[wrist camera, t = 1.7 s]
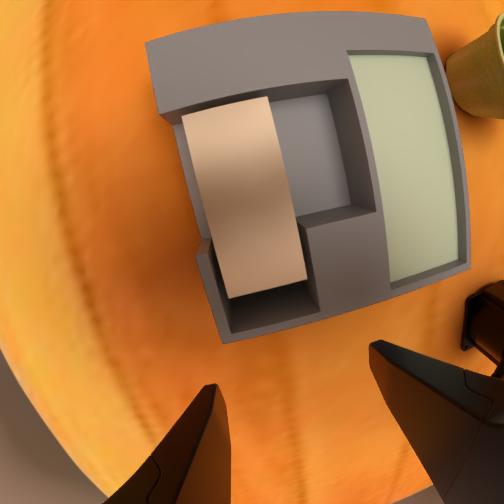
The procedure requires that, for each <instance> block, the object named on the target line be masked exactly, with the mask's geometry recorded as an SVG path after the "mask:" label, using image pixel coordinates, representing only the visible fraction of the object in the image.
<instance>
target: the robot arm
mask: <svg viewBox="0 0 504 504" xmlns="http://www.w3.org/2000/svg"><path fill="white" fill-rule="evenodd" d="M474 346H475V347H476V348H477V349H478V350H479V351H480V352H482V353H483V354H484V355H485V356H486V357H488V358H489V359H490V360H491V361H492V362H493V363H495V364H496V365H497V368H496V370H495V371H494V373H493V374H492V375H491V377H490V376H486V375H483V374H479V373H476V372H473V371H470V370H467V369H465V370H464V369H463V368H460V367H457V366H454V365H452V364H449V363H446V362H443V361H440V360H437V359H434V358H431V357H428V356H425V355H423V354H420V353H417V352H414V351H411V350H409V349H406V348H403V347H400V346H397V345H395V344H392V343H389V342H386V341H384V340H378V341H375V342H372V343H370V344H369V364H370V369H371V371H372V373H373V375H374V378H375V380H376V382H377V384H378V386H379V389H380V391H381V393H382V395H383V398H384V400H385V402H386V404H387V406H388V408H389V409H390V411H391V413H392V414H393V416H394V418H395V419H396V421H397V423H398V424H399V426H400V428H401V429H402V431H403V433H404V434H405V436H406V438H407V439H408V441H409V443H410V444H411V446H412V448H413V449H414V451H415V453H416V455H417V456H418V458H419V460H420V461H421V463H422V465H423V467H424V468H425V470H426V472H427V474H428V475H429V477H430V479H431V481H432V482H433V484H434V486H435V488H436V489H437V491H438V493H439V495H440V496H441V498H442V499H443V502H444V504H504V280H502V281H500V282H498V283H496V284H494V285H492V286H490V287H488V288H486V289H484V290H482V291H480V292H478V293H476V294H474V295H472V296H470V297H468V299H467V301H466V310H465V320H464V328H463V336H462V343H461V349H462V350H463V351H466V350H468V349H470V348H472V347H474ZM103 504H231V442H230V434H229V425H228V417H227V409H226V404H225V401H224V398H223V396H222V393H221V391H220V388H219V386H218V385H217V384H209V385H205V386H204V387H203V388H202V389H201V390H200V392H199V393H198V394H197V396H196V397H195V398H194V400H193V401H192V402H191V404H190V405H189V406H188V408H187V409H186V410H185V411H184V413H183V414H182V415H181V417H180V418H179V419H178V420H177V422H176V423H175V424H174V426H173V427H172V428H171V429H170V431H169V432H168V433H167V434H166V436H165V437H164V438H163V440H162V441H161V442H160V443H159V445H158V446H157V447H156V448H155V450H154V451H153V452H152V453H151V456H149V457H148V458H147V459H146V461H145V462H144V463H143V464H142V465H141V466H140V468H139V469H138V470H137V471H136V472H135V473H134V474H133V475H132V476H131V477H130V478H129V479H128V480H127V481H126V482H125V483H124V484H123V485H122V486H121V487H120V488H119V489H118V490H117V491H116V492H115V493H114V494H113V495H112V496H110V497H109V498H108V499H107V500H106V501H105V502H104V503H103Z"/></svg>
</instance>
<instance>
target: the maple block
mask: <svg viewBox="0 0 504 504" xmlns="http://www.w3.org/2000/svg"><path fill="white" fill-rule="evenodd" d="M182 121H183V125H184V129H185V133H186V138H187V142H188V146H189V150H190V154H191V158H192V163H193V167H194V171H195V175H196V179H197V183H198V187H199V191H200V195H201V198H202V202H203V206H204V210H205V214H206V218H207V221H208V225H209V229H210V233H211V236H212V240H213V244H214V248H215V251H216V255H217V259H218V262H219V266H220V269H221V273H222V277H223V280H224V284H225V287H226V291H227V294H228V298H233V297H238V296H242V295H246V294H250V293H254V292H258V291H262V290H266V289H270V288H274V287H278V286H282V285H286V284H290V283H294V282H298V281H302V280H306V279H307V274H306V269H305V263H304V258H303V253H302V248H301V242H300V237H299V232H298V227H297V223H296V218H295V213H294V208H293V203H292V199H291V194H290V189H289V185H288V180H287V176H286V171H285V167H284V163H283V158H282V154H281V150H280V146H279V141H278V137H277V133H276V129H275V125H274V121H273V117H272V113H271V109H270V105H269V101H268V97H267V96H266V97H261V98H256V99H250V100H246V101H241V102H236V103H232V104H227V105H223V106H219V107H214V108H210V109H206V110H202V111H199V112H195V113H191V114H188V115H184V116H182Z"/></svg>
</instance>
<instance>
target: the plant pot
mask: <svg viewBox="0 0 504 504" xmlns="http://www.w3.org/2000/svg"><path fill="white" fill-rule="evenodd" d="M446 78H447V81H448V85H449V88H450V92H451V95H452V97H453V99H454V100H455V102H456V103H457V104H458V106H459V107H460V108H461V109H463V110H464V111H466V112H468V113H469V114H471V115H472V116H477V117H487V118H497V119H504V13H502V14H500V15H499V16H498V17H497V19H496V22H495V24H494V25H492V26H491V28H490V29H489V31H488V32H486V33H485V34H483V35H482V36H480V37H479V38H477V39H476V40H474V41H472V42H471V43H469V44H468V45H466V46H465V47H463V48H462V49H460V50H458V51H457V52H455V53H454V54H452V55H451V56H450V57H449V58H448V59H447V61H446Z"/></svg>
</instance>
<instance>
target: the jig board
mask: <svg viewBox="0 0 504 504" xmlns="http://www.w3.org/2000/svg"><path fill="white" fill-rule="evenodd" d="M145 47H146V52H147V58H148V63H149V68H150V73H151V79H152V84H153V89H154V93H155V98H156V103H157V108H158V112H159V115H160V116H161V117H163V118H164V119H165V120H166V121H168V122H169V123H170V124H171V125H173V129H174V133H175V138H176V142H177V146H178V150H179V154H180V159H181V163H182V167H183V171H184V175H185V179H186V183H187V187H188V191H189V194H190V198H191V202H192V206H193V210H194V214H195V217H196V221H197V225H198V228H199V232H200V236H201V239H202V240H201V243H200V245H199V247H198V250H197V252H196V255H195V258H196V261H197V264H198V268H199V271H200V274H201V278H202V281H203V284H204V288H205V291H206V294H207V297H208V301H209V304H210V307H211V310H212V313H213V316H214V319H215V322H216V326H217V329H218V332H219V335H220V338H221V341H222V344H227V343H231V342H236V341H240V340H245V339H249V338H253V337H258V336H262V335H266V334H270V333H274V332H278V331H282V330H286V329H290V328H294V327H297V326H301V325H305V324H309V323H312V322H316V321H319V320H323V319H326V318H330V317H333V316H337V315H340V314H343V313H347V312H350V311H353V310H357V309H360V308H363V307H366V306H369V305H372V304H375V303H379V302H382V301H385V300H388V299H391V298H394V297H396V296H399V295H402V294H405V293H408V292H411V291H414V290H416V289H419V288H422V287H425V286H427V285H430V284H433V283H435V282H438V281H441V280H443V279H446V278H448V277H451V276H453V275H456V274H458V273H461V272H463V271H466V270H468V269H470V265H471V233H470V210H469V196H468V186H467V177H466V168H465V161H464V154H463V148H462V142H461V137H460V131H459V126H458V121H457V117H456V112H455V108H454V104H453V100H452V96H451V92H450V88H449V85H448V81H447V78H446V75H445V71H444V68H443V65H442V62H441V59H440V56H439V53H438V50H437V47H436V44H435V42H434V39H433V36H432V34H431V31H430V29H429V26H428V24H427V21H426V19H424V18H418V17H411V16H404V15H395V14H385V13H373V12H353V11H317V12H297V13H284V14H274V15H265V16H257V17H250V18H243V19H237V20H232V21H226V22H221V23H216V24H211V25H207V26H202V27H198V28H194V29H190V30H186V31H182V32H179V33H175V34H171V35H168V36H165V37H161V38H158V39H155V40H152V41H149V42H146V43H145ZM266 96H267V97H268V101H269V105H270V109H271V113H272V117H273V121H274V125H275V129H276V133H277V137H278V141H279V146H280V150H281V154H282V158H283V163H284V167H285V171H286V176H287V180H288V185H289V189H290V194H291V199H292V203H293V208H294V213H295V218H296V223H297V227H298V232H299V237H300V242H301V248H302V253H303V258H304V263H305V269H306V274H307V279H306V280H302V281H298V282H294V283H290V284H286V285H282V286H278V287H274V288H270V289H266V290H262V291H258V292H254V293H250V294H246V295H242V296H238V297H233V298H228V294H227V291H226V287H225V284H224V280H223V277H222V273H221V269H220V266H219V262H218V259H217V255H216V251H215V248H214V244H213V240H212V236H211V233H210V229H209V225H208V221H207V218H206V214H205V210H204V206H203V202H202V198H201V195H200V191H199V187H198V183H197V179H196V175H195V171H194V167H193V163H192V158H191V154H190V150H189V146H188V142H187V138H186V133H185V129H184V125H183V121H182V116H184V115H188V114H191V113H195V112H199V111H202V110H206V109H210V108H214V107H219V106H223V105H227V104H232V103H236V102H241V101H246V100H250V99H256V98H261V97H266Z"/></svg>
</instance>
